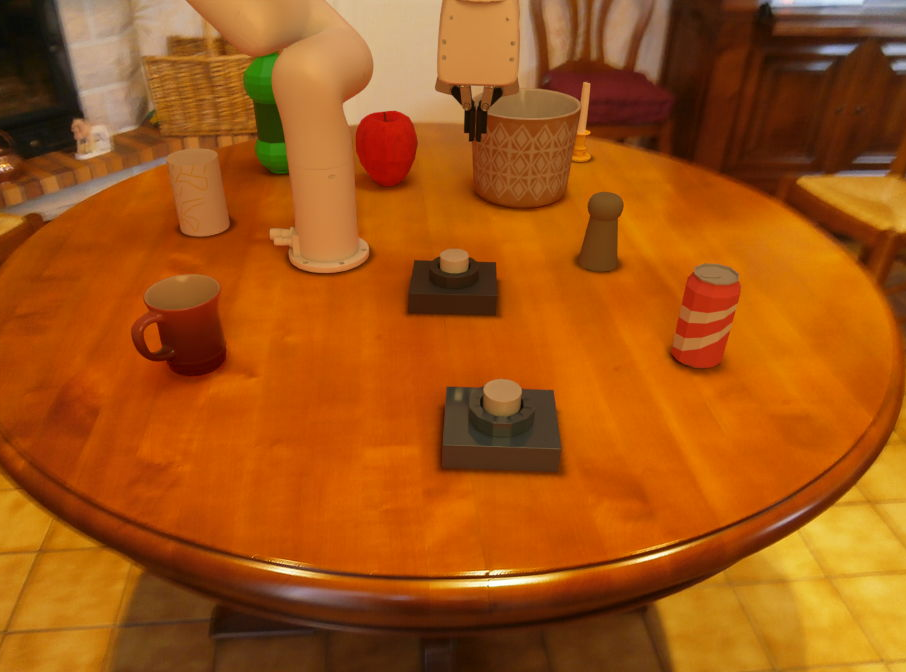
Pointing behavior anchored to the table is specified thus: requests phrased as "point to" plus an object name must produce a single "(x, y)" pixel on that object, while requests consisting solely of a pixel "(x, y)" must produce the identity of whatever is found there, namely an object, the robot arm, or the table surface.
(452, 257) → the push button
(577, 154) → the candle
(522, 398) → the front button base
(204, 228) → the cup
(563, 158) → the planter
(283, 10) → the robot arm
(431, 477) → the table surface
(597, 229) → the pawn
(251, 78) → the plastic bottle
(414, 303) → the dark brown button base
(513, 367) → the table surface
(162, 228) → the table surface
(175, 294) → the mug
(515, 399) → the beige push button
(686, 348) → the beverage can
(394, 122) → the apple
